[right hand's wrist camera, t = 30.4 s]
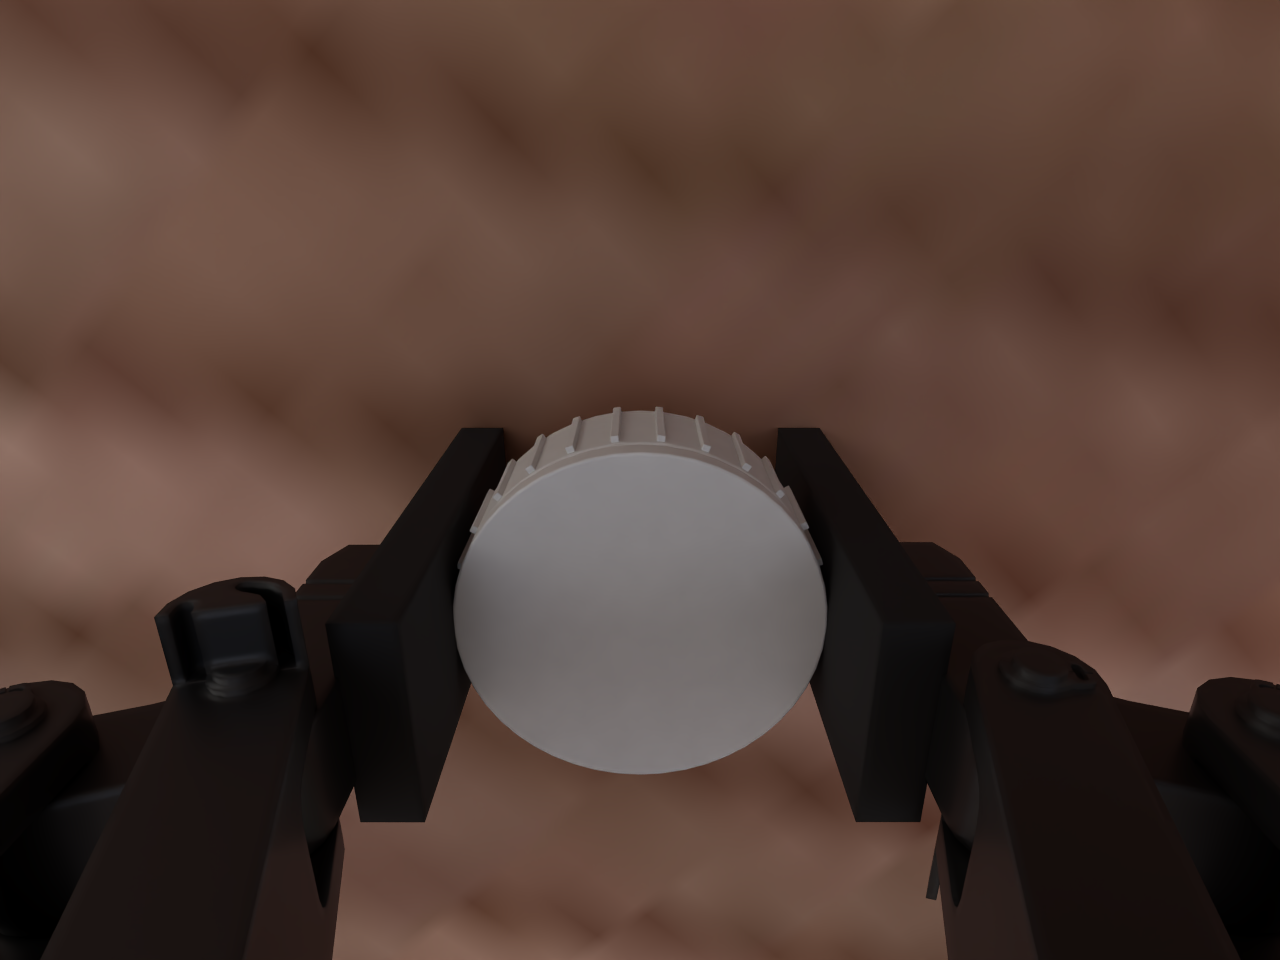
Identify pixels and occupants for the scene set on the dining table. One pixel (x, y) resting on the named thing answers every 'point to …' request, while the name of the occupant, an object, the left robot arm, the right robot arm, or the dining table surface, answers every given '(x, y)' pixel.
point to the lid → (640, 594)
